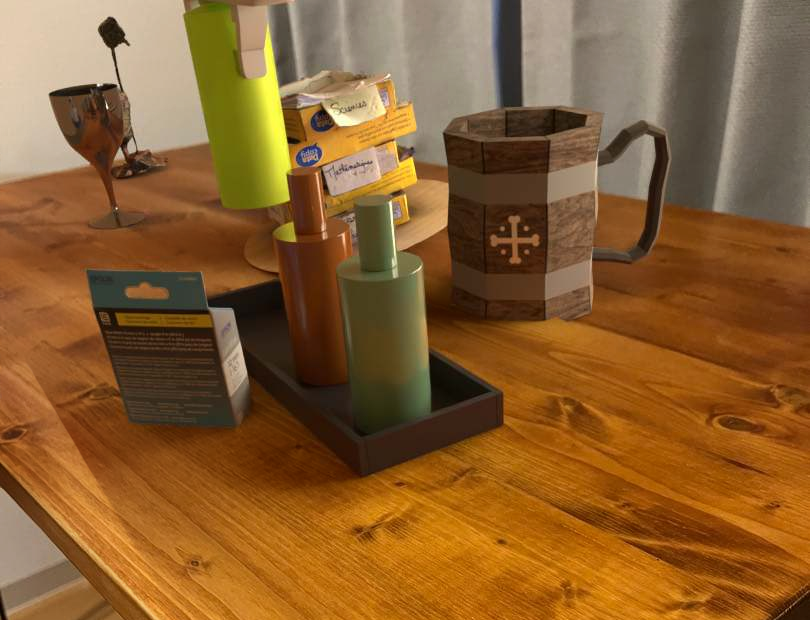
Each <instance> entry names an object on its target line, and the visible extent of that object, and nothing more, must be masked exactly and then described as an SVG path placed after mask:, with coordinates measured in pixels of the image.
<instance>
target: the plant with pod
mask: <svg viewBox="0 0 810 620" xmlns="http://www.w3.org/2000/svg"><path fill="white" fill-rule="evenodd" d="M97 32H98V34H99V36H100V37H101V39H102V41H103V43H104V45H105V46H106V47H107V48H108V49H110V53H111V57H112V61H113V64H114V65H113V66H114V67H115V68H114V70H115V75H116V80H117V84H118V86H119V87H118V90H119V94H120V98H121V103H122V108H123V116H124V138H123V141H122V144H121V146H120V148H119V149H121V153H122V154H123V157H124V161H125V163H123V164H121V165H114V166H112V169H111V177H112V178H123V177H127V176H131V177H132V176H133V175H134V176H135V175H137V174H140V173H143V172H144V173H145V172H147V171H148V170H150V169H152V168H156V167H168V165H169V163H168V159H169V157H166V158H162V157H157V156H155V155H152V151H151V150H150V149H149V148H148V149H144V150H139V149H138V146H137V141H136V138H135V134H134V133H135V132H134V128H133V127H132V120H131V119H132V117H131V102H130V101H129V100H130V99H129V97H128V95H127V93H126V92H125V90H124V87H123V85H122V81H121V77H120V73H119V68H118V61H117V55H116V48H118V46H119V45H122V44H125V45H126V46H127V47H131V43H130V42H129V41H128V39H127V38H126V33H125V31H124V29H123V28H122V26H121V25H120V24H119V23H118V21H117V19H116V18H115V17H113V16H111V15H110V16H107V17H106V18H105V19H104V20H103V21H102V22H100V24H99V25H98V27H97ZM131 140H133V143H134V145H135V151H134V152H130V151H129V149H128V146H129V142H131ZM89 166H92V167H93V165H92V164H91V163H90V162H89Z"/></svg>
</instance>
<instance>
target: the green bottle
mask: <svg viewBox="0 0 810 620" xmlns="http://www.w3.org/2000/svg"><path fill="white" fill-rule="evenodd" d="M353 204H354V214H355V223H356V232H357V242H358V251H359V255H356V256H353V257H350V258H348V259H345V260H344V261H342V262H340V263H339V264H338V265H337V267H336V269H335V273H336V281H337V289H338V297H339V305H340V313H341V321H342V329H343V337H344V345H345V353H346V361H347V369H348V377H349V385H350V393H351V401H352V409H353V417H354V423H355V426H356V427H357V428H358V429H359V430H360V431H361V432H363V433H365V434H368V435H370V434H373V433H376V432H379V431H381V430H384V429H387V428H390V427H393V426H395V425H398V424H401V423H404V422H407V421H410V420H412V419H415V418H418V417H421V416H424V415H426V414H429V413H432V397H431V381H430V366H429V350H428V346H429V336H428V321H427V304H426V292H425V291H426V289H425V288H426V287H425V275H424V273H425V272H424V261H423V259H422V258H421V257H420V256H418V255H416V254H414V253H411V252H407V251H402V250H401V251H397V248H396V236H395V223H394V211H393V199H392V197H390V196H386V195H369V196H364V197H360V198H358V199H356V200H354V202H353Z"/></svg>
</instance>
